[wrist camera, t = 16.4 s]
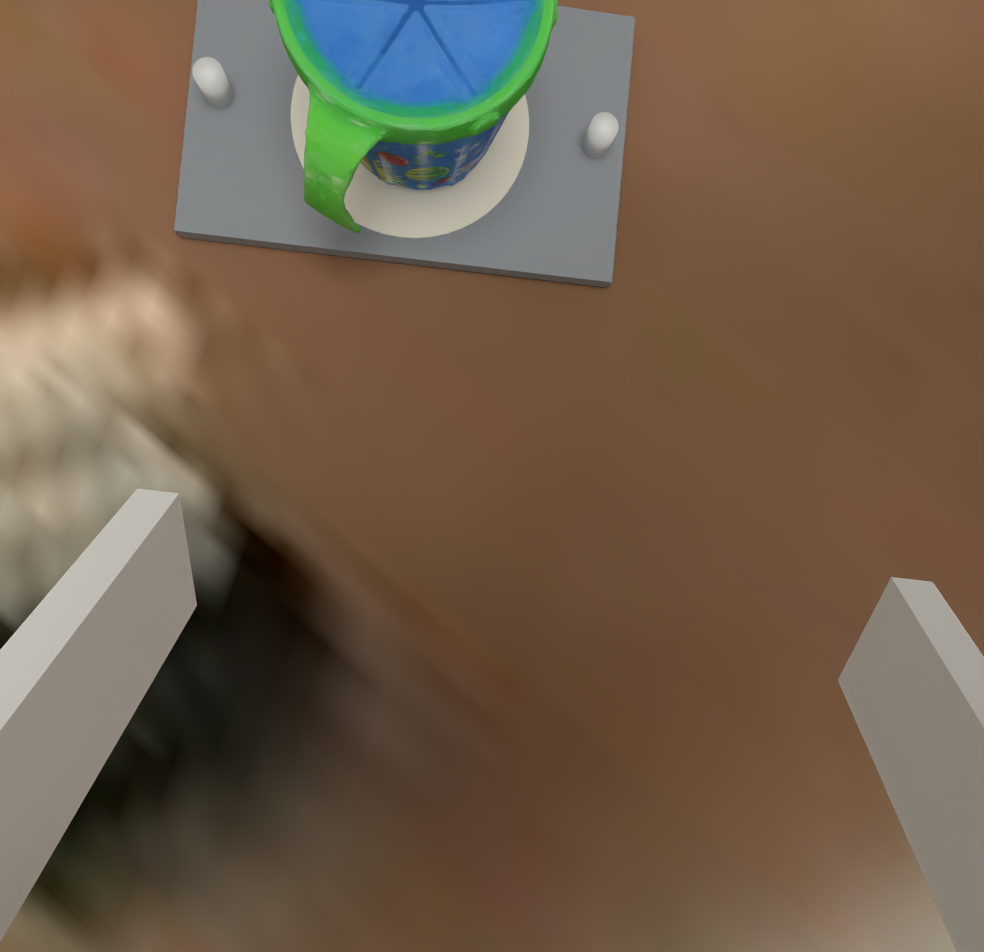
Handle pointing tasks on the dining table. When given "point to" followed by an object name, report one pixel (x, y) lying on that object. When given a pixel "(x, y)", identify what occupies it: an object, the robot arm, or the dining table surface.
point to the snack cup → (407, 86)
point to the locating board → (398, 210)
